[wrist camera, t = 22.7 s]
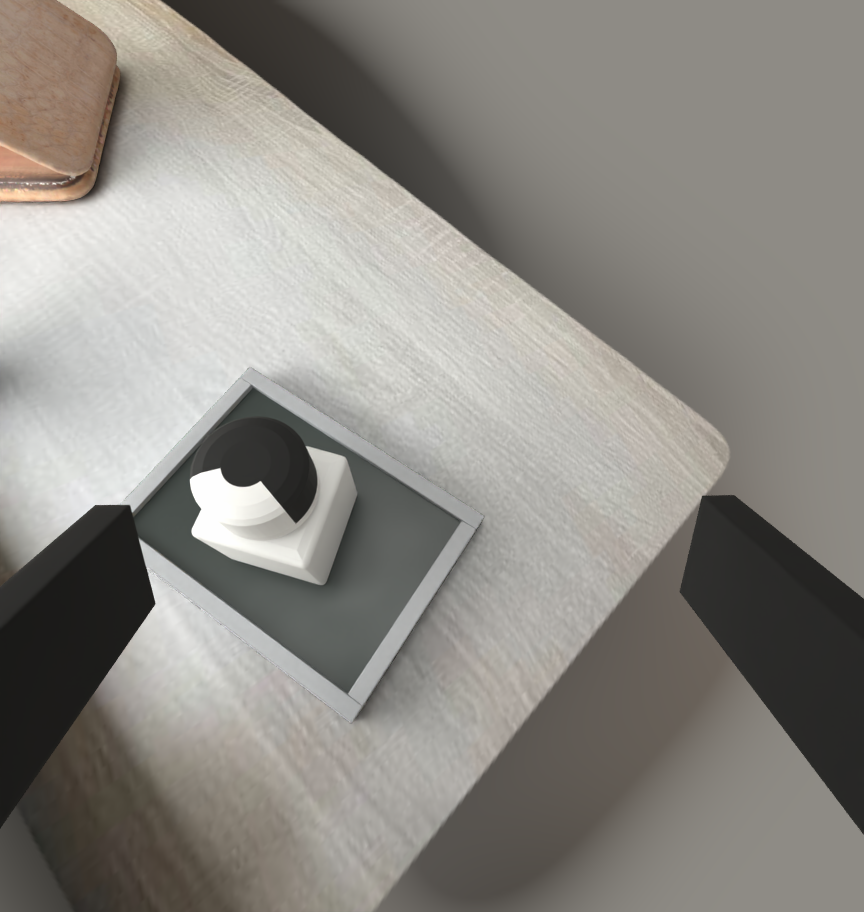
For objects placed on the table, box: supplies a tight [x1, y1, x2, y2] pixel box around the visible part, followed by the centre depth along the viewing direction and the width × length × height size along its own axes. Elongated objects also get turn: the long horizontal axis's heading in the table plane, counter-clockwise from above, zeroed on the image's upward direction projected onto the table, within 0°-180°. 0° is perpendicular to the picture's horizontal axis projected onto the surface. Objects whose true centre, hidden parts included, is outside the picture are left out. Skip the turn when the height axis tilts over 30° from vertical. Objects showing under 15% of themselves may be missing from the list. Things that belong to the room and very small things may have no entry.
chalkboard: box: [120, 367, 484, 723], centre depth 37 cm, size 22×16×2 cm
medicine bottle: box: [190, 416, 357, 585], centre depth 31 cm, size 7×7×12 cm
